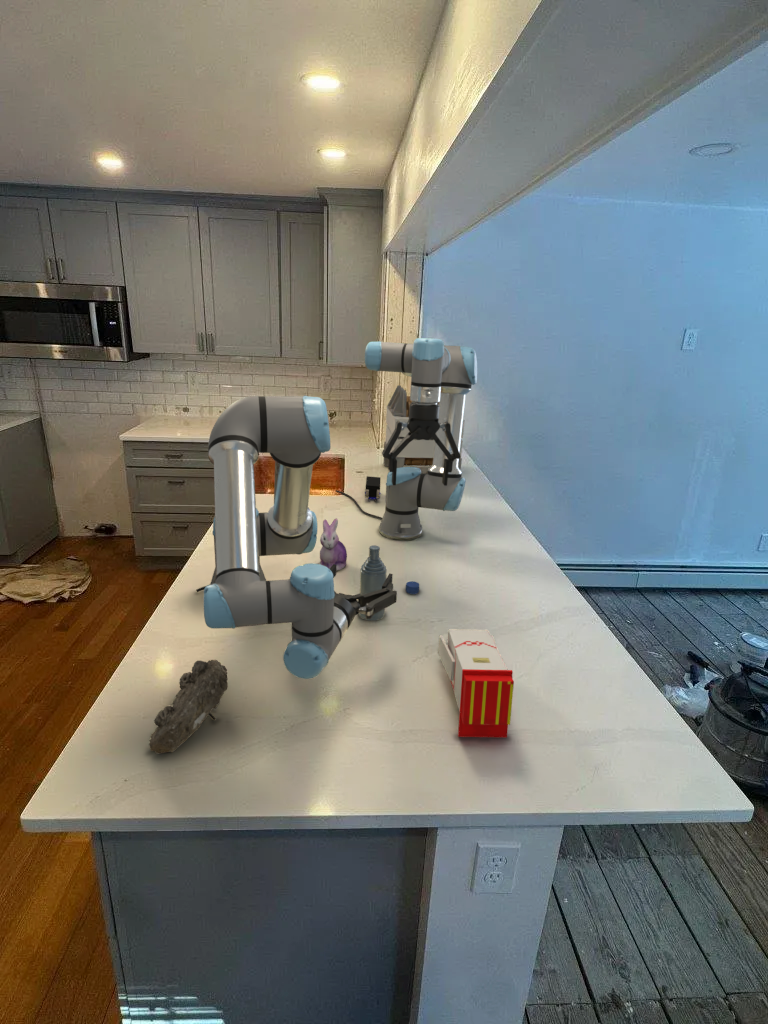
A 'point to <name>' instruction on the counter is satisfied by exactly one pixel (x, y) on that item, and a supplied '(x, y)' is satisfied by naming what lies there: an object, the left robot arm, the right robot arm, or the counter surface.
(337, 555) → the figurine
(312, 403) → the left robot arm
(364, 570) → the bottle
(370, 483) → the figurine character
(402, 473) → the right robot arm
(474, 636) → the toy
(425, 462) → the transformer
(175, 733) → the fossil
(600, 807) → the counter surface
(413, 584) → the cap
